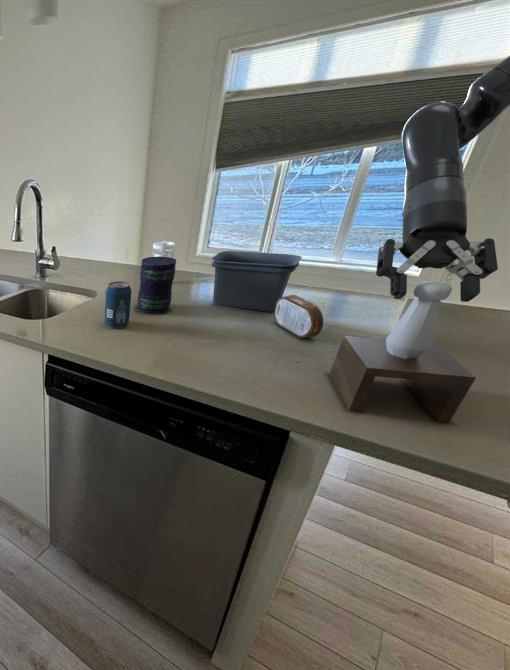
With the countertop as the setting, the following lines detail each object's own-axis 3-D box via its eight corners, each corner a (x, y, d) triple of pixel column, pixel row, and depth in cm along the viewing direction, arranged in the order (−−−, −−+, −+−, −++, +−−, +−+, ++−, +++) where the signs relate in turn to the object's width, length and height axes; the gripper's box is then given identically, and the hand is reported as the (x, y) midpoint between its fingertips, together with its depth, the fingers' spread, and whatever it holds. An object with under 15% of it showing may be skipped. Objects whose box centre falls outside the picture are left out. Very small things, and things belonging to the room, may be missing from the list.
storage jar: (166, 316, 120) (172, 265, 112) (132, 312, 125) (137, 263, 117) (173, 305, 127) (179, 257, 119) (141, 302, 132) (145, 255, 124)
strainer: (149, 285, 146) (153, 242, 138) (149, 279, 152) (153, 238, 144) (170, 285, 144) (175, 242, 136) (169, 279, 149) (174, 237, 142)
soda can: (114, 318, 122) (117, 279, 116) (133, 324, 117) (137, 283, 111) (99, 325, 118) (100, 285, 112) (118, 331, 113) (121, 289, 107)
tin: (318, 342, 98) (329, 309, 93) (305, 343, 98) (316, 311, 94) (280, 320, 111) (288, 290, 106) (268, 321, 111) (276, 291, 107)
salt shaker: (418, 364, 69) (455, 291, 63) (376, 354, 73) (407, 284, 67) (428, 353, 72) (464, 282, 66) (387, 344, 76) (417, 276, 70)
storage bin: (200, 305, 125) (208, 259, 117) (215, 291, 134) (224, 247, 127) (280, 317, 112) (295, 266, 105) (291, 301, 122) (305, 253, 115)
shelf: (414, 382, 80) (435, 341, 75) (449, 422, 69) (476, 377, 65) (329, 374, 85) (343, 335, 81) (348, 410, 74) (367, 367, 70)
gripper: (392, 200, 69) (391, 286, 65) (508, 196, 63) (512, 289, 60) (370, 227, 75) (367, 306, 72) (473, 225, 70) (475, 310, 67)
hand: (433, 298), depth 66 cm, fingers open, 8 cm apart
